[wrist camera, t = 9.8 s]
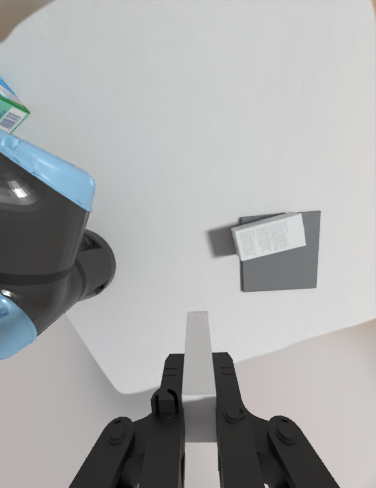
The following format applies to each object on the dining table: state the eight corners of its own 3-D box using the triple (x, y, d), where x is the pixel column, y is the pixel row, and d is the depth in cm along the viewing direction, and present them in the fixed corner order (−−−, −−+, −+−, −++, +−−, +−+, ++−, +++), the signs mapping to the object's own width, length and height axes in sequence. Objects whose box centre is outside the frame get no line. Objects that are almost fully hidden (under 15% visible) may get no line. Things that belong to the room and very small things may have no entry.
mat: (243, 291, 43) (243, 292, 43) (241, 217, 40) (241, 217, 39) (314, 286, 42) (316, 288, 42) (319, 210, 39) (320, 210, 38)
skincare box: (236, 255, 41) (295, 241, 40) (240, 261, 37) (307, 246, 36) (230, 227, 40) (291, 211, 39) (233, 230, 36) (302, 213, 34)
